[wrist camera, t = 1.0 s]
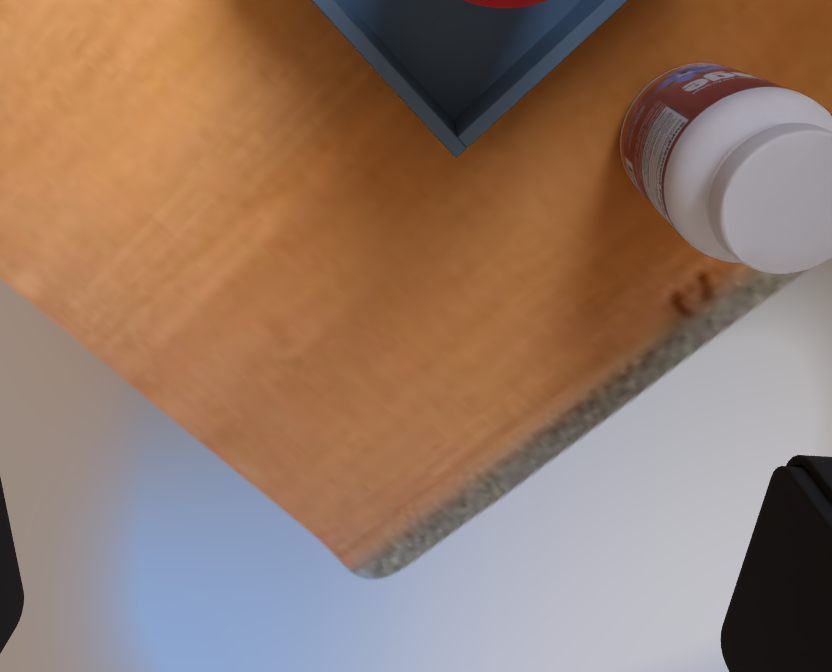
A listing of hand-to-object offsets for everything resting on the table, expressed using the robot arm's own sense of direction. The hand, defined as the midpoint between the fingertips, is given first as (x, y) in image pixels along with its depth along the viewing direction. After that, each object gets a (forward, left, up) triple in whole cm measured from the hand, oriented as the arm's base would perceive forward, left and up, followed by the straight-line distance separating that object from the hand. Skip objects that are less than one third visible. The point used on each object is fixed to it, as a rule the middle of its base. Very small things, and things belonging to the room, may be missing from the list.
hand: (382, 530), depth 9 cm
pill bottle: (-12, +4, -27) cm, 30 cm away
